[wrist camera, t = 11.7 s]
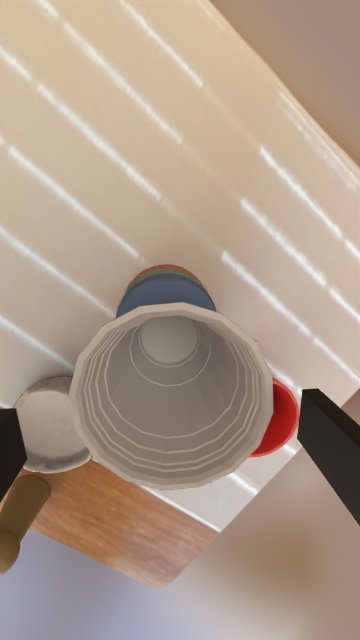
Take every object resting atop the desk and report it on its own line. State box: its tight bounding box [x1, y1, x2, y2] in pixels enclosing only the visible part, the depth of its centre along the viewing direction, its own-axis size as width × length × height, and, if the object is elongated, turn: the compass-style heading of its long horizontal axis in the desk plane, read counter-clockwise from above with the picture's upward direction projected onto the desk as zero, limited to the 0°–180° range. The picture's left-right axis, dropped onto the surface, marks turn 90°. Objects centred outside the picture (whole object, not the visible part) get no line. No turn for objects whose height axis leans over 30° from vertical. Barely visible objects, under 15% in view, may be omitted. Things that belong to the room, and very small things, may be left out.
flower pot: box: [249, 377, 299, 457], centre depth 35 cm, size 11×11×10 cm
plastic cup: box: [69, 302, 273, 490], centre depth 19 cm, size 11×11×12 cm
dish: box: [13, 377, 96, 474], centre depth 37 cm, size 14×14×5 cm
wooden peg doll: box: [0, 476, 50, 575], centre depth 38 cm, size 6×6×11 cm
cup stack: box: [116, 265, 217, 319], centre depth 31 cm, size 12×12×12 cm
